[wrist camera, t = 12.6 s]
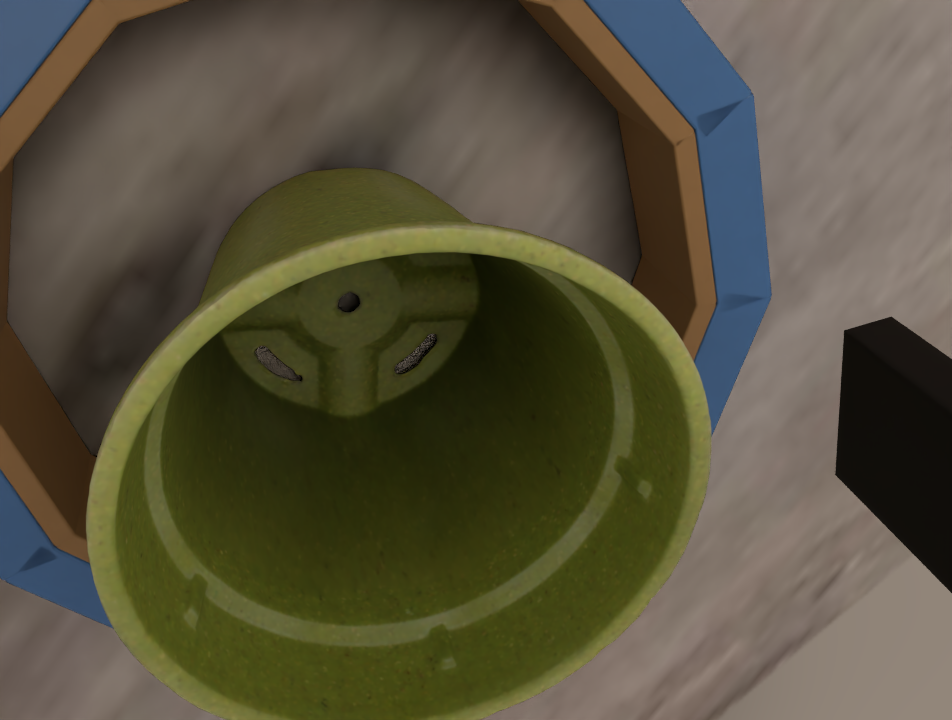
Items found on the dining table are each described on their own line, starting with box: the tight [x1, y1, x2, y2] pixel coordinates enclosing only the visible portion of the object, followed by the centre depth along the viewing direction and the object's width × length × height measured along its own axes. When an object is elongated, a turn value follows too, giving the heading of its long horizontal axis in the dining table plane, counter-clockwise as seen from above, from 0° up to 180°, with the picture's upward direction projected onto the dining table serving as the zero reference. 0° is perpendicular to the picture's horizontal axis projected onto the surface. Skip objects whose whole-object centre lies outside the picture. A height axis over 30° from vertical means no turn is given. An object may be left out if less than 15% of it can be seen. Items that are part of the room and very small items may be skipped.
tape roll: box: [0, 0, 772, 629], centre depth 20 cm, size 18×18×3 cm
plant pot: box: [86, 168, 712, 720], centre depth 17 cm, size 9×9×9 cm
